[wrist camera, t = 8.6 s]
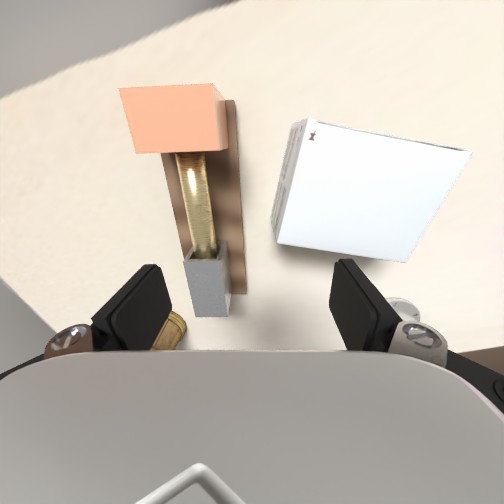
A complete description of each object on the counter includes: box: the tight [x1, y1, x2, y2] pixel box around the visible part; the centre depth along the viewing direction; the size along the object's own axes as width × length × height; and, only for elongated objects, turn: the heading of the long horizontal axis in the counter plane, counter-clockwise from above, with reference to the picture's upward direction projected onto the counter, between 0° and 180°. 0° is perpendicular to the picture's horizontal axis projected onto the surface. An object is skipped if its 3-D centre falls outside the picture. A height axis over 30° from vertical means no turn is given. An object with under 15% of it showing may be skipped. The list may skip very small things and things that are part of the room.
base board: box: [161, 100, 246, 294], centre depth 32 cm, size 29×10×2 cm, turn 2°
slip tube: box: [175, 151, 218, 259], centre depth 27 cm, size 20×3×3 cm, turn 2°
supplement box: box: [271, 118, 473, 263], centre depth 26 cm, size 17×13×9 cm
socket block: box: [118, 83, 229, 154], centre depth 22 cm, size 5×8×8 cm, turn 92°
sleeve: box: [183, 240, 232, 317], centre depth 32 cm, size 10×5×6 cm, turn 2°
